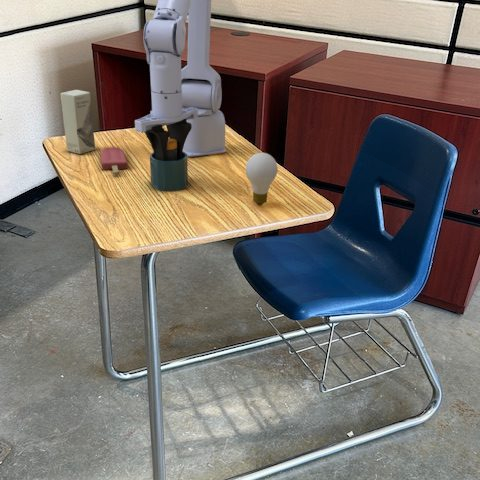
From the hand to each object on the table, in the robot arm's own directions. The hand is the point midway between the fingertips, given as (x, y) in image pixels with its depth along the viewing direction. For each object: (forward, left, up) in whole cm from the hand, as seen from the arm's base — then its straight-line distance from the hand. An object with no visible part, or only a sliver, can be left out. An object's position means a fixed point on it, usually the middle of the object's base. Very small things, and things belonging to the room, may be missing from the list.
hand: (168, 161), depth 121 cm
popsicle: (+7, -15, -5) cm, 18 cm away
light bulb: (-12, +17, -5) cm, 21 cm away
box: (+11, -27, -5) cm, 30 cm away
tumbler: (0, 0, -5) cm, 5 cm away
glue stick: (0, 0, -2) cm, 2 cm away
